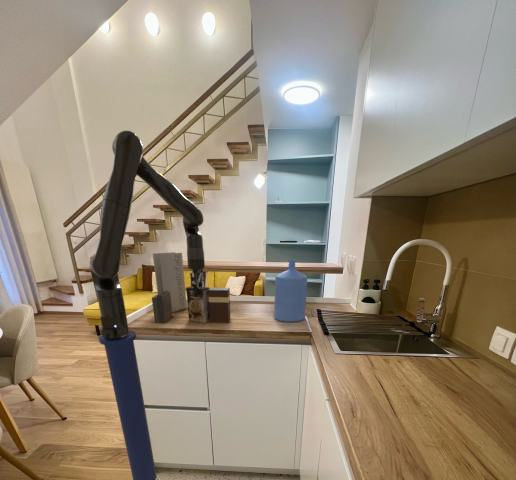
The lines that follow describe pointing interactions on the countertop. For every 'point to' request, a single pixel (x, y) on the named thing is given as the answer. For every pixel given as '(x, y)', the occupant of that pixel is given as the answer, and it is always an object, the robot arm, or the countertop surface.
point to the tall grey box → (171, 278)
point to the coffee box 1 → (198, 304)
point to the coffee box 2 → (219, 304)
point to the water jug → (290, 295)
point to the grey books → (162, 307)
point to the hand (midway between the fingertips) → (198, 293)
